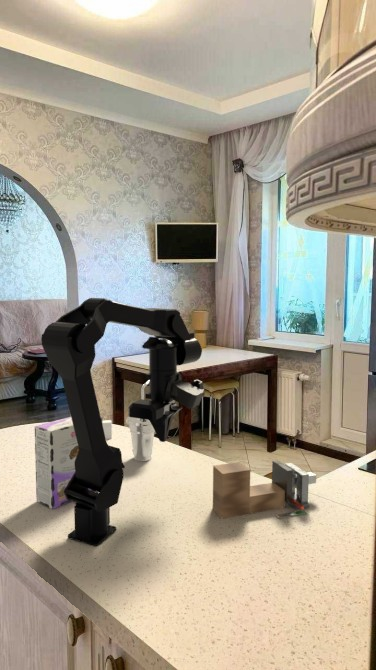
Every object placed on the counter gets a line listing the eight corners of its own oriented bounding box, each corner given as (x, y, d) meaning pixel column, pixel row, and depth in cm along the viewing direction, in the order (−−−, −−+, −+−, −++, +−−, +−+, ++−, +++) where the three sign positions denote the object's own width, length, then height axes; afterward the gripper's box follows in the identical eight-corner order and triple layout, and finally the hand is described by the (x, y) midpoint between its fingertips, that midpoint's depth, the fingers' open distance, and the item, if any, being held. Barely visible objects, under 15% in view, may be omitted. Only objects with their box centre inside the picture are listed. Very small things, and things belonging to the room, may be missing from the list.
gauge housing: (278, 518, 98) (279, 485, 97) (253, 497, 107) (254, 466, 106) (315, 512, 101) (316, 479, 100) (288, 491, 110) (289, 461, 109)
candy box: (87, 481, 115) (86, 411, 113) (104, 488, 111) (103, 415, 109) (35, 501, 104) (33, 424, 103) (52, 510, 101) (50, 430, 99)
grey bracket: (296, 510, 98) (297, 477, 98) (271, 491, 107) (272, 460, 107) (331, 504, 101) (333, 471, 101) (305, 485, 110) (306, 456, 109)
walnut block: (221, 518, 98) (222, 473, 97) (212, 508, 102) (213, 465, 101) (284, 507, 103) (285, 464, 102) (273, 498, 107) (274, 457, 106)
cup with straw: (119, 457, 130) (118, 381, 128) (147, 449, 136) (146, 377, 134) (139, 466, 124) (139, 387, 122) (167, 458, 130) (167, 382, 128)
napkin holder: (59, 441, 144) (59, 422, 143) (84, 431, 154) (84, 412, 153) (101, 450, 137) (101, 429, 137) (125, 438, 147) (125, 419, 147)
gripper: (178, 380, 93) (178, 461, 95) (215, 364, 110) (214, 434, 111) (126, 375, 97) (127, 453, 99) (169, 361, 114) (169, 427, 116)
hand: (163, 441), depth 106 cm, fingers closed
